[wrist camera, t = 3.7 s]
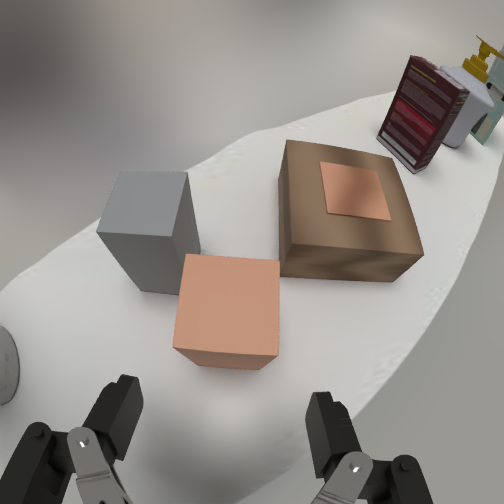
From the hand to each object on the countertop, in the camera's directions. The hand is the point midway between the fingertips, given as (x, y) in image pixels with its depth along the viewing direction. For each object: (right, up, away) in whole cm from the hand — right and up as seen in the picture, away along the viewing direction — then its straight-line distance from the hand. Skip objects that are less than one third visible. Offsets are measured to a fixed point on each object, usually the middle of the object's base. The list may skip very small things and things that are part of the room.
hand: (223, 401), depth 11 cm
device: (+62, +40, +38) cm, 83 cm away
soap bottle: (+40, +31, +31) cm, 59 cm away
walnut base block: (+10, +9, +17) cm, 22 cm away
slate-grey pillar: (-6, +5, +14) cm, 16 cm away
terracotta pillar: (0, -1, +11) cm, 11 cm away
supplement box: (+25, +22, +26) cm, 42 cm away
